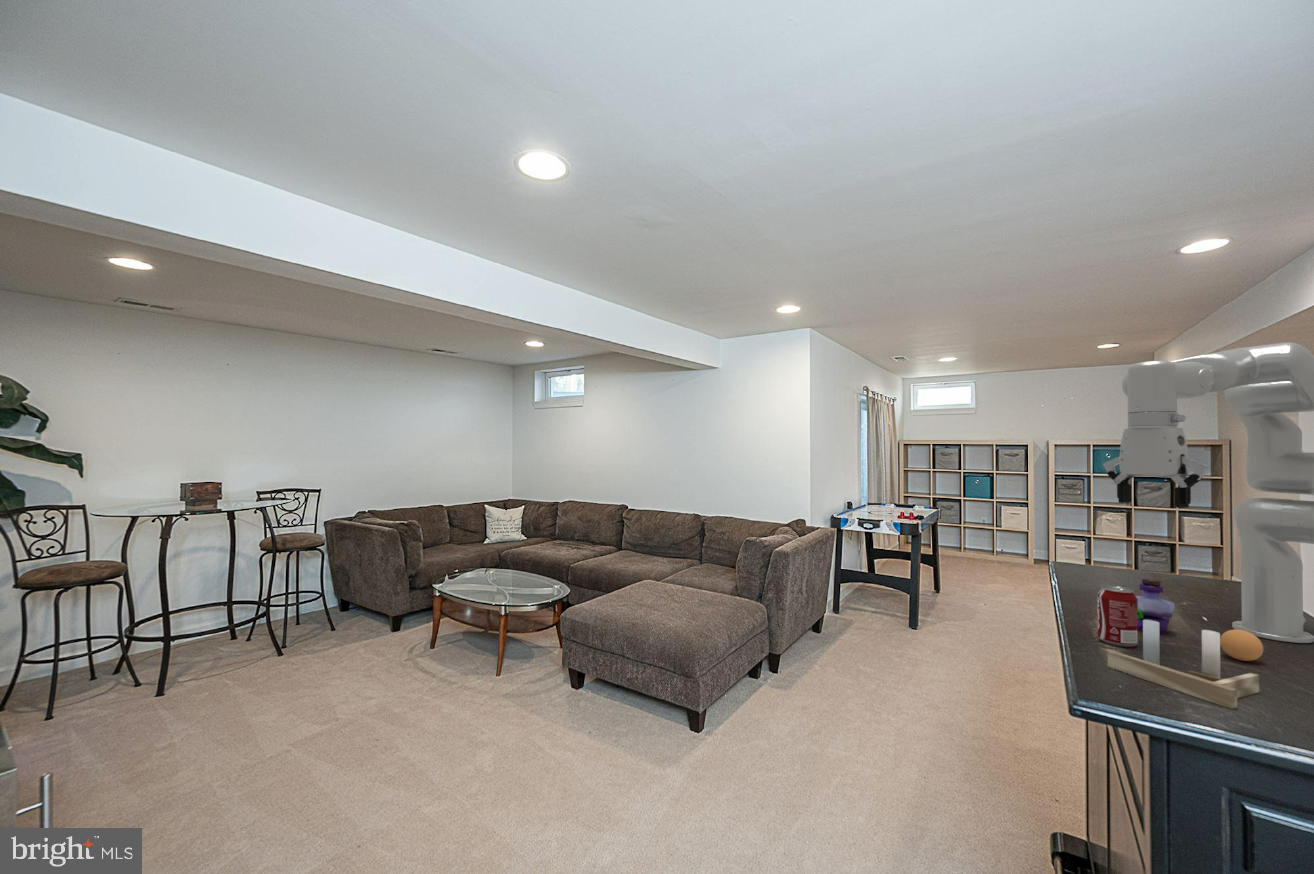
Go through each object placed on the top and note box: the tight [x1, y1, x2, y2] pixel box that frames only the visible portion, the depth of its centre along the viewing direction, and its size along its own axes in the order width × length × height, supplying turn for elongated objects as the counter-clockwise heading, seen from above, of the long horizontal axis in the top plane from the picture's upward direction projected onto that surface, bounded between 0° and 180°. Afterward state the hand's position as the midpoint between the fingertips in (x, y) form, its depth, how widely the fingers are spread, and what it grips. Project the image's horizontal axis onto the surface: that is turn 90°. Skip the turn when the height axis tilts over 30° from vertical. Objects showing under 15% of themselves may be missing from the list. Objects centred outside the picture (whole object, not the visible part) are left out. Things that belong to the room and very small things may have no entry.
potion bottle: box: [1135, 577, 1176, 635], centre depth 128 cm, size 9×9×12 cm
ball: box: [1220, 628, 1264, 662], centre depth 110 cm, size 6×6×6 cm
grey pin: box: [1142, 620, 1161, 666], centre depth 107 cm, size 2×2×8 cm
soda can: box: [1096, 584, 1139, 648], centre depth 119 cm, size 7×7×12 cm
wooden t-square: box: [1107, 650, 1260, 710], centre depth 99 cm, size 13×18×3 cm
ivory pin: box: [1201, 629, 1221, 678], centre depth 101 cm, size 2×2×8 cm
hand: (1152, 505), depth 111 cm, fingers open, 9 cm apart
